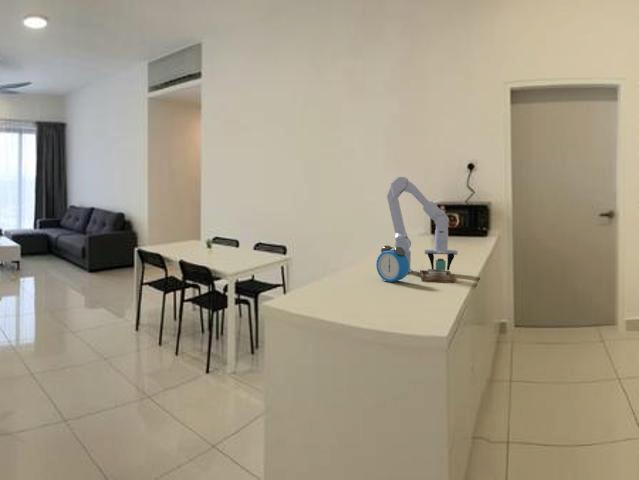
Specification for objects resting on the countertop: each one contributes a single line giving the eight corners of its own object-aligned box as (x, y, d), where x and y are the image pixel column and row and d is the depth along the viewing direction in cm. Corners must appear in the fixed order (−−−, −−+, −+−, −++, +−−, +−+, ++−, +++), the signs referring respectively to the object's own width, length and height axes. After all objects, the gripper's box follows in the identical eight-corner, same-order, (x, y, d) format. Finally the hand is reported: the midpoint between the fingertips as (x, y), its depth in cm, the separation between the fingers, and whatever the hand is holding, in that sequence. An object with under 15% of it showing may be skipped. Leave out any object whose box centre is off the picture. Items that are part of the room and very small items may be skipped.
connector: (436, 274, 207) (436, 259, 206) (435, 272, 211) (435, 258, 210) (445, 274, 206) (445, 259, 205) (444, 272, 210) (444, 258, 209)
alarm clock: (375, 279, 195) (376, 245, 193) (384, 277, 199) (385, 243, 197) (400, 284, 185) (401, 248, 183) (409, 282, 190) (410, 247, 188)
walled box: (422, 281, 192) (422, 272, 191) (419, 275, 204) (420, 266, 204) (453, 282, 190) (454, 273, 189) (449, 276, 203) (449, 267, 202)
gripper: (425, 241, 204) (424, 271, 205) (459, 242, 202) (457, 272, 203) (424, 239, 211) (423, 268, 212) (456, 240, 208) (455, 269, 210)
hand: (440, 269), depth 208 cm, fingers open, 6 cm apart
